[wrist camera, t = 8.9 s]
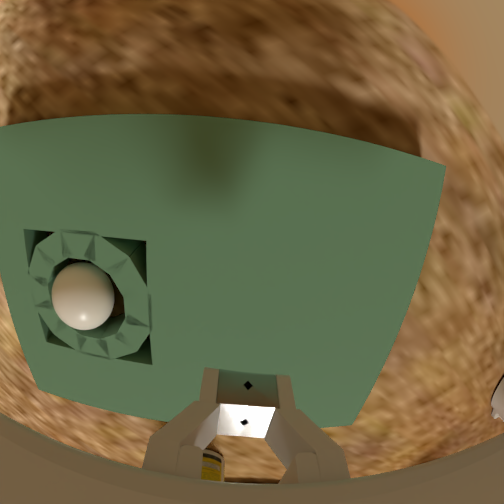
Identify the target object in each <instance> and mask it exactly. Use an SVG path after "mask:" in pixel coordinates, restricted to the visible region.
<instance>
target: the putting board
mask: <svg viewBox="0 0 504 504" xmlns="http://www.w3.org/2000/svg"><path fill="white" fill-rule="evenodd" d="M445 170H446V166H444V165H442V164H439V163H436V162H433V161H430V160H427V159H424V158H421V157H418V156H415V155H411V154H408V153H405V152H401V151H398V150H395V149H391V148H387V147H384V146H380V145H376V144H373V143H369V142H365V141H361V140H357V139H352V138H348V137H344V136H339V135H334V134H330V133H325V132H320V131H315V130H309V129H304V128H298V127H292V126H286V125H280V124H273V123H266V122H258V121H250V120H242V119H232V118H222V117H209V116H194V115H173V114H111V115H91V116H77V117H65V118H56V119H47V120H39V121H32V122H25V123H19V124H13V125H7V126H2V127H0V273H1V278H2V282H3V287H4V291H5V295H6V299H7V303H8V306H9V310H10V313H11V317H12V320H13V323H14V327H15V330H16V333H17V336H18V339H19V342H20V344H21V347H22V350H23V353H24V355H25V358H26V360H27V363H28V365H29V368H30V370H31V373H32V375H33V377H34V380H35V382H36V384H37V386H38V389H39V390H42V391H45V392H48V393H50V394H53V395H56V396H59V397H62V398H66V399H69V400H72V401H75V402H79V403H82V404H86V405H89V406H93V407H97V408H101V409H105V410H109V411H113V412H117V413H122V414H127V415H131V416H136V417H142V418H147V419H153V420H159V421H165V422H169V421H171V420H172V419H173V418H174V417H175V416H177V415H178V414H179V413H180V412H182V411H183V410H184V409H185V408H186V407H188V406H189V405H190V404H191V403H192V402H193V401H199V397H200V390H201V384H202V377H203V371H204V368H205V367H209V368H215V369H224V370H231V371H239V372H248V373H260V374H274V375H275V374H276V375H289V376H290V377H291V383H292V389H293V394H294V400H295V406H296V409H300V410H301V411H302V412H303V413H304V414H305V415H307V416H308V417H309V418H310V419H311V420H312V421H313V422H314V423H315V424H316V425H317V426H318V427H319V428H324V427H336V426H346V425H352V424H353V422H354V420H355V419H356V417H357V415H358V414H359V412H360V410H361V408H362V406H363V405H364V403H365V401H366V399H367V397H368V395H369V394H370V392H371V390H372V388H373V386H374V384H375V382H376V380H377V378H378V376H379V374H380V372H381V370H382V368H383V366H384V364H385V361H386V359H387V357H388V355H389V353H390V351H391V348H392V346H393V344H394V342H395V339H396V337H397V335H398V332H399V330H400V327H401V325H402V322H403V320H404V317H405V315H406V312H407V310H408V307H409V304H410V302H411V299H412V296H413V293H414V290H415V287H416V285H417V282H418V279H419V276H420V272H421V269H422V266H423V263H424V260H425V256H426V253H427V249H428V246H429V242H430V239H431V235H432V231H433V227H434V223H435V219H436V215H437V211H438V206H439V201H440V197H441V192H442V187H443V181H444V176H445ZM47 231H52V232H54V233H53V234H51V235H50V236H48V237H47ZM143 240H144V241H146V245H145V243H144V241H143ZM70 258H75V259H83V260H90V261H91V262H92V263H94V264H95V265H97V266H98V267H99V268H101V269H102V270H104V271H105V272H106V273H108V274H109V275H110V276H111V278H112V279H113V281H114V282H115V284H116V286H117V287H118V289H119V291H120V292H121V294H122V295H123V298H124V309H125V313H124V314H121V315H119V316H116V317H108V318H107V320H106V321H105V322H104V323H103V324H101V325H100V326H98V327H96V328H94V329H90V330H79V329H75V328H72V327H70V326H69V325H67V324H66V323H64V322H63V321H62V320H61V319H60V318H59V316H58V315H57V313H56V311H55V309H54V306H53V303H52V287H53V283H54V280H55V278H56V277H57V275H58V274H59V272H60V271H61V270H62V269H64V268H65V267H66V266H67V264H68V262H69V259H70ZM149 333H150V339H146V338H147V336H148V335H149Z"/></svg>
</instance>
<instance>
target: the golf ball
mask: <svg viewBox="0 0 504 504" xmlns="http://www.w3.org/2000/svg"><path fill="white" fill-rule="evenodd" d="M52 303H53V306H54V309H55V311H56V313H57V315H58V316H59V318H60V319H61V320H62V321H63V322H64V323H66V324H67V325H69V326H70V327H72V328H75V329H79V330H90V329H94V328H96V327H98V326H100V325H101V324H103V323H104V322H105V321H106V320H107V318H108V317H109V316H110V314H111V312H112V309H113V306H114V289H113V286H112V283H111V281H110V279H109V277H108V276H107V275H106V273H105V272H104V271H103V270H101V269H100V268H99V267H97V266H96V265H93V264H91V263H87V262H77V263H73V264H70V265H68V266H66V267H65V268H64V269H62V270H61V271H60V272H59V274H58V275H57V277H56V278H55V280H54V283H53V287H52Z"/></svg>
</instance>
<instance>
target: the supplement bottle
mask: <svg viewBox="0 0 504 504" xmlns="http://www.w3.org/2000/svg"><path fill="white" fill-rule="evenodd" d="M201 479H202V480H211V481H221V482H224V459H223V457H222V456H221V455H219V454H218V453H216V452H214V451H211V450H207V449H204V450H203V459H202V471H201Z"/></svg>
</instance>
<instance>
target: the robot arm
mask: <svg viewBox="0 0 504 504" xmlns="http://www.w3.org/2000/svg"><path fill="white" fill-rule="evenodd" d="M491 405H492V407H493V412H492V416H493V418H494V419H496V418H498V417H500V418H501V419H502V420H503V421H504V378H503V379H502V381H501V382H500V384H499V386H498V387H497V389H496V391H495V393H494V395H493V398H492V402H491ZM216 434H220V435H233V436H246V437H258V438H265V441H266V442H267V443H268V445H269V446H270V447H271V449H272V450H273V452H274V453H275V454H276V456H277V457H278V458H279V460H280V461H281V462H282V464H283V465H284V466H285V467H286V469H287V471H286V472H285V474H284V475H283V477H282V478H281V480H280V482H279V483H278V484H252V483H233V482H221V481H211V480H202V479H201V471H202V459H203V450H204V449H205V448H206V447H207V446H208V444H209V443H210V442H211V441H212V440H213V439H214V438H215V436H216ZM0 504H504V433H502V434H500V435H498V436H496V437H493V438H491V439H489V440H487V441H484V442H482V443H480V444H477V445H475V446H472V447H470V448H467V449H465V450H462V451H459V452H457V453H454V454H451V455H448V456H445V457H442V458H439V459H436V460H433V461H429V462H426V463H423V464H419V465H415V466H412V467H408V468H404V469H399V470H395V471H391V472H386V473H381V474H376V475H370V476H364V477H358V478H350V474H349V471H348V467H347V463H346V459H345V455H344V451H343V449H342V448H341V447H340V446H339V445H337V444H336V443H335V442H334V441H333V440H332V439H331V438H330V437H329V436H328V435H327V434H325V433H324V432H323V431H322V430H321V429H320V428H319V427H318V426H317V425H316V424H315V423H314V422H313V421H312V420H311V419H310V418H309V417H308V416H307V415H305V414H304V413H303V412H302V411H301V410H300V409H296V406H295V400H294V394H293V389H292V383H291V377H290V376H289V375H276V374H275V375H274V374H260V373H248V372H239V371H231V370H224V369H215V368H209V367H205V368H204V371H203V377H202V384H201V390H200V397H199V401H193V402H192V403H191V404H190V405H189V406H188V407H186V408H185V409H184V410H183V411H182V412H180V413H179V414H178V415H177V416H175V417H174V418H173V419H172V420H171V421H169V422H168V423H167V424H166V425H164V426H163V427H162V428H161V429H159V430H158V431H157V432H156V433H154V434H153V435H152V436H150V439H149V443H148V446H147V450H146V454H145V458H144V462H143V466H142V468H137V467H133V466H130V465H126V464H122V463H119V462H115V461H112V460H108V459H105V458H102V457H99V456H96V455H93V454H90V453H87V452H84V451H82V450H79V449H76V448H74V447H71V446H68V445H66V444H63V443H61V442H59V441H56V440H54V439H52V438H49V437H47V436H45V435H43V434H40V433H38V432H36V431H34V430H32V429H30V428H28V427H26V426H24V425H22V424H20V423H18V422H16V421H15V420H13V419H11V418H9V417H7V416H6V415H4V414H2V413H0Z"/></svg>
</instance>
